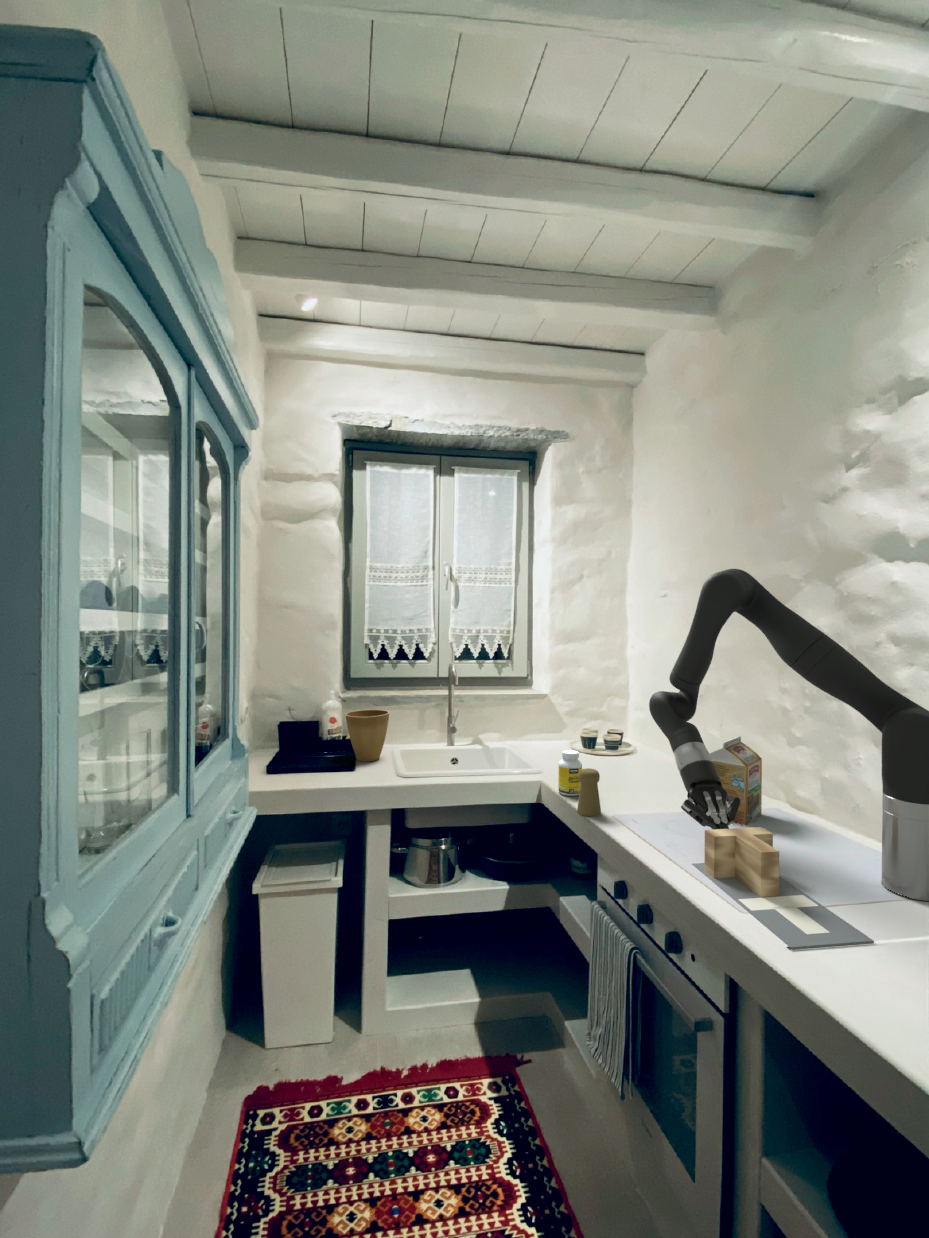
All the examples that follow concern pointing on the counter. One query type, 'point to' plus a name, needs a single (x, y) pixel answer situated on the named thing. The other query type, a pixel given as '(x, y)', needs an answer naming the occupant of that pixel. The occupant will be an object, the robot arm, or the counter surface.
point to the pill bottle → (569, 773)
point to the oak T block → (744, 858)
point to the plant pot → (367, 732)
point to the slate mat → (792, 915)
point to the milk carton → (740, 777)
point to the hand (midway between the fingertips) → (726, 844)
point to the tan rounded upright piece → (589, 793)
